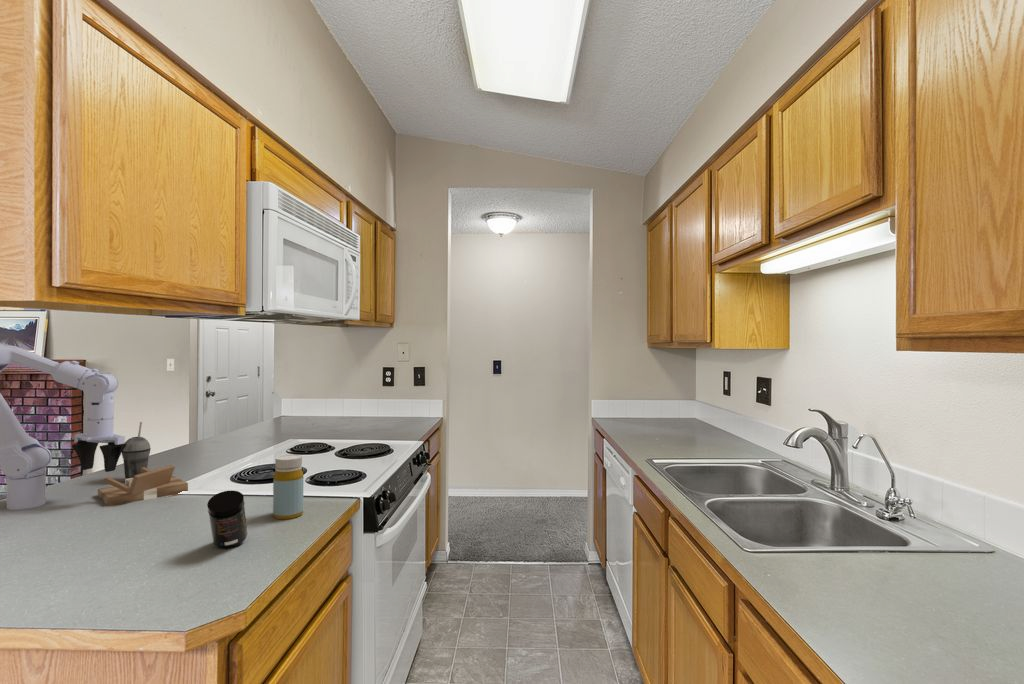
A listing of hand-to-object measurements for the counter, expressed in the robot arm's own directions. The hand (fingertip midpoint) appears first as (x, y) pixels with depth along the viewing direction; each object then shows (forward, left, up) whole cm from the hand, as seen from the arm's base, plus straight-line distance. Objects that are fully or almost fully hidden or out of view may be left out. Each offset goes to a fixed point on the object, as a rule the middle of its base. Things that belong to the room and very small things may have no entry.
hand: (98, 470), depth 134 cm
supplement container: (+54, +12, -11) cm, 56 cm away
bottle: (+44, +30, -11) cm, 54 cm away
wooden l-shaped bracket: (+4, +10, -6) cm, 13 cm away
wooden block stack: (+5, +10, -10) cm, 15 cm away
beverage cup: (-16, +12, -11) cm, 23 cm away
